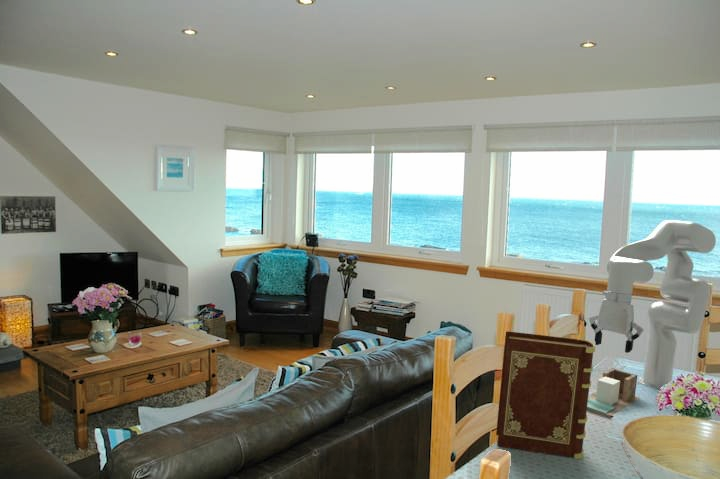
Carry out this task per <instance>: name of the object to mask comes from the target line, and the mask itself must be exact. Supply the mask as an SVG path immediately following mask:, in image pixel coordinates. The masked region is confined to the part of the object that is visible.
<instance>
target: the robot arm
mask: <svg viewBox="0 0 720 479" xmlns="http://www.w3.org/2000/svg"><path fill="white" fill-rule="evenodd" d="M716 238H717V237H716V235H715V233H714V232H713V230H711V229H709V228H707V227H705V226H704V225H702V224H700V223H696V222H693V221H686V220H685V221H684V220H672V219H669V220H668V219H667V220H663V221H662V222H660V223H659V224H658V225H657V226H656V227H655V228H654V229H652V231H651V232H650V233H649V234H648V235H647V236H646V237H645V238H644V239H642V240H637V241H635V242H633V243H630V244H626V245H624V246H622V247H620V248H619V249H617V251H615V252H614V253H613V254H612V256H611V257H610V258H609V259H608V262H607V264H606V272H607V274H608V280H607V288H606V290H603V291H602V294H601V295H602V296H605V298H603V300H602V301H601V304H600V309H599V313H598V315H596V316H592V317H588V321H589V323H590V327H591V328H592V329H593V331H594V335H595V336H594V342H595V344H594V345H595V346H599V345H601V344H602V341H603V340H602V339H603V332H602V331H607V332H612V333H616V334H620V335H625V337H626V338H627V340H626V341H625V348H624V352H625V353H626V354H627V353H631V351H632V350H633V348H634V341H635V340H636V339H638V338H640V337H641V335H642V334H643V333H644V331H645V329H644V328H642V327H641V326H639V325H638V324H637V323H636V322H634V318H635V317H634V316H635V312H634V311H635V310H634V304H633V303H632V298H633V297H632V296H633V290H634V283H639V284H640V283H641V284H643V283H648V282H649V281H650V280H651V279H652V278H653V277H654V275H655V274H654V273H655V269H654V267H653V265H652V263H650V262H651V261H655V260H660V259H662V258H664V257H665V256H666V257H667V264H666V268H665V271H664V274H663V278H662V280H661V284H660V288H659V291H660V292H659V293H660V296H661V297H663V299H666V300H669V301H673V302H678V303H682V304H688V306H686V305H681V304H677V303H673V302H666V301H655V302H652V303H651V304H650V305H649V306H648V309H647V325H648V329H647V330H648V331H647V339H646V340H647V341H646V349H645V357H644V365H643V366H644V367H643V372H642V373H643V374H642V376H641V377H639V378H638V377H637V383H638V385H642V386H647V387H649V388H653V389H656V390H659V389H660V388H661V387H662V386H663V385H665V384H668V383H669V382H671V381H672V382H673V374H674V368H675V360H676V352H677V343H678V342H677V338H676V335H675V334H674V332H678V333H682V334H686V335H695V334H697V333H699V331H700V330H701V328H702V324H703V322H704V318H705V316H706V312H707V308H708V305H709V303H710V302H709V300H710V296H711V287H710V284H709V283H708V282H707V281H706V280H704V279H700V278H695V277H692V274H693V271H694V262H693V260H692V258H691V256H690V255H689V254H688V252H691V253H698V254H708V253H711V252H712V251H713V250H714V249H715V246H716V243H717V242H716V241H717V239H716ZM649 261H650V262H649ZM596 321H597V323H596ZM633 330H635V331H636V332H635V333H633Z"/></svg>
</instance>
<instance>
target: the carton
mask: <svg viewBox="0 0 720 479" xmlns="http://www.w3.org/2000/svg"><path fill="white" fill-rule="evenodd" d="M619 387H620V381H619V380H615V379H612V378H608V377H603V376H602V377H601V378H599V379H597V384H596V391H597V393H596V401H599V402H602V403H605V404H608V405H612V404H614V403H616V402H617V401H618V396H619Z"/></svg>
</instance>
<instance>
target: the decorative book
mask: <svg viewBox="0 0 720 479" xmlns="http://www.w3.org/2000/svg"><path fill="white" fill-rule="evenodd" d="M504 337H505V338H504V348H503V358H502V359H503V360H502V369H501V370H502V371H501V380H500V390H499V401H498V409H497V410H498V412H497V422H496V431H495V432H496V433H495V436H497V447H500V448H506V449H510V450H511V449H513V450H519V451H525V452H531V453H538V454H544V455H550V456H557V457H558V456H559V457H564V458H573V459H576V460H581V459H582V458H583V457H584V454H585V452H584V451H585V449H584V440H585V437H586V433H587V432H586V429H585V428H586V423H587V421H588V415H587V412H588V411H587V403H588V395H590V394H589V392H590V388H591V386H592V381H591V376H592V372H593V370H594V365H593V360H594V359H593V356H594V353H595V351H596V345H595V344H594V343H593V342H592V341H590V340H586V339H577V338H570V337H569V338H568V337H559V336H553V335H552V336H550V335H544V334H543V335H542V334H534V333H524V332H516V331H505V336H504Z"/></svg>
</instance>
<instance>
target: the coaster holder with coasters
mask: <svg viewBox="0 0 720 479" xmlns="http://www.w3.org/2000/svg"><path fill="white" fill-rule="evenodd" d="M603 377H608V378H612V379H615V380H619V381H620V387H619V396H618V401H617V402H616V403H614V404H612V405H608V404H605V403H602V402H599V401H596V393H597V390H596V391H594V392H592V393H591V394H589V395H588V403H587V412H589V413H593V414H596V415H598V416H601V417H604V418H607V419H612V418H614V414H616V413H618V412H619V411H621V410H622V409H623V410H624V408H626V407H628V406H630V405H631V404H633V403H635V402H636V401H638V400H640V399H641V397H640V396H637V395H636V389H637V383H638V374H633V373H631V372H627V371H623V370H619V369H616V368H614V367H612V368H611V369H608V370H605V371H603V373H602V378H603Z"/></svg>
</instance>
